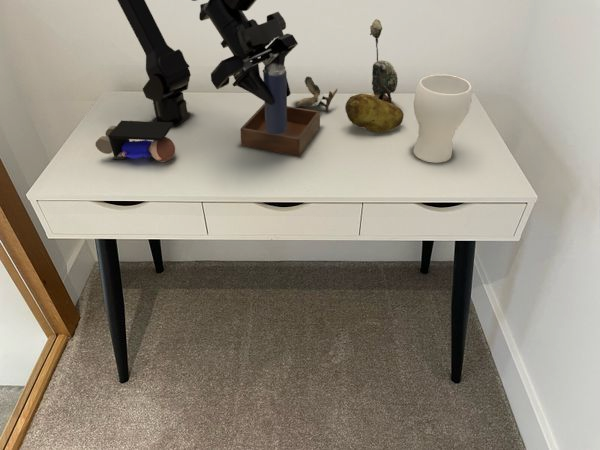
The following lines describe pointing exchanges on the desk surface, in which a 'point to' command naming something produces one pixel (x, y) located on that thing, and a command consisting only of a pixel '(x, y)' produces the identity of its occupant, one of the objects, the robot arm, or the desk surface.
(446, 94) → the cup
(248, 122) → the desk bin
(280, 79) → the can
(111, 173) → the desk surface
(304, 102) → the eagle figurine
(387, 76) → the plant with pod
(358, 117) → the potato
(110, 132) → the figurine character
